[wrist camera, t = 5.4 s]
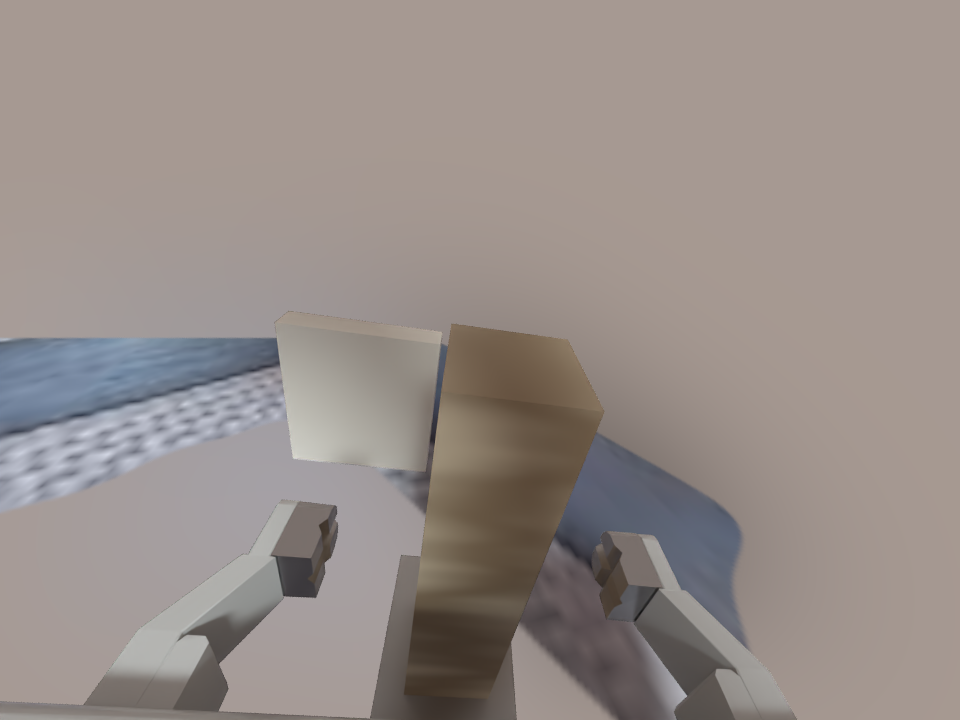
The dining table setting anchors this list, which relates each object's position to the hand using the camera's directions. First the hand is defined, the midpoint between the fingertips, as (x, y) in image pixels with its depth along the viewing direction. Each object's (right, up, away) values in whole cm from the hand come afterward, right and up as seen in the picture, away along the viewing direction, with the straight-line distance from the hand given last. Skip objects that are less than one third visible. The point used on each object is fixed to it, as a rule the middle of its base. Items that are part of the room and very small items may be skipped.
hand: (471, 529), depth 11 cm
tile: (-7, -1, +12) cm, 14 cm away
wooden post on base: (-1, -7, +3) cm, 8 cm away
